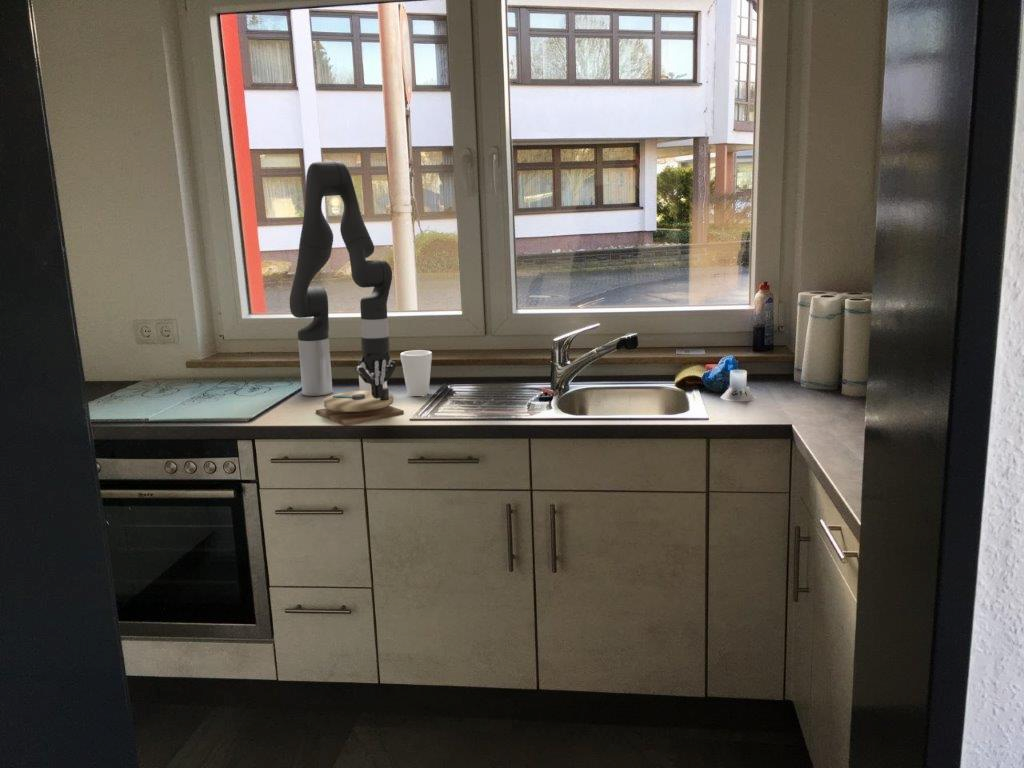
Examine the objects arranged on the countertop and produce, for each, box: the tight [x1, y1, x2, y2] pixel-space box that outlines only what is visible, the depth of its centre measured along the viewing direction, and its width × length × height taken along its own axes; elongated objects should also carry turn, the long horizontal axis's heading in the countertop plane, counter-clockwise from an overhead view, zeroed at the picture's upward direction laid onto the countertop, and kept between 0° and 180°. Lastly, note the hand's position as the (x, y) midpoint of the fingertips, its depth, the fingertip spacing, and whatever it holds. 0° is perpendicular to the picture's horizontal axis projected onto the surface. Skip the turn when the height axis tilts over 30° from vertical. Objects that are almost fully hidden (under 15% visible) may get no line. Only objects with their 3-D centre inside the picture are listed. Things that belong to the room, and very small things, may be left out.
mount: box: [315, 405, 405, 426], centre depth 233 cm, size 18×18×3 cm
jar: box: [357, 357, 388, 391], centre depth 251 cm, size 9×8×12 cm
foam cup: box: [400, 349, 433, 397], centre depth 254 cm, size 10×9×13 cm
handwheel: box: [323, 387, 394, 412], centre depth 232 cm, size 19×19×4 cm
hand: (377, 397), depth 227 cm, fingers closed
